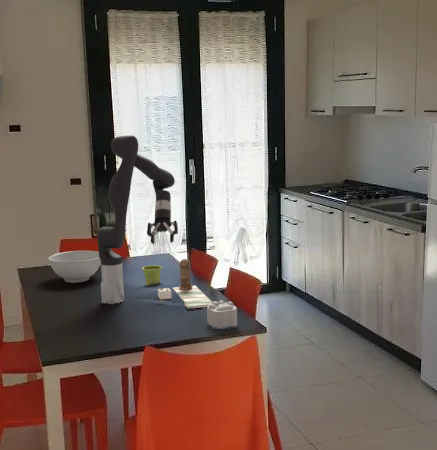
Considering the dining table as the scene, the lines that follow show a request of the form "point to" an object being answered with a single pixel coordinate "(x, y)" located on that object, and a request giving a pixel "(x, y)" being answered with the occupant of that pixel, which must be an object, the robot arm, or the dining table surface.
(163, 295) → the die
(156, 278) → the plant pot
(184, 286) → the pawn
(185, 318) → the dining table surface
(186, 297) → the game board
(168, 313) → the dining table surface
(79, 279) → the decorative bowl
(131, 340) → the dining table surface
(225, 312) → the lumpy-topped squat cylinder
